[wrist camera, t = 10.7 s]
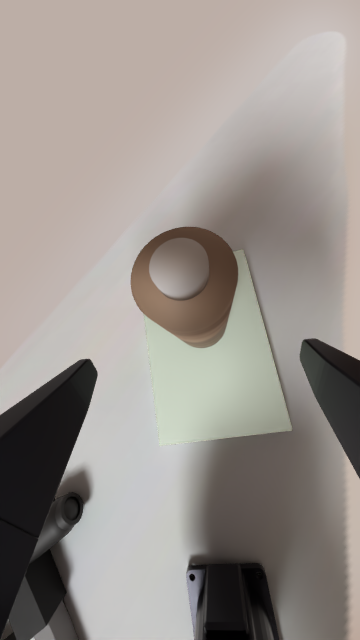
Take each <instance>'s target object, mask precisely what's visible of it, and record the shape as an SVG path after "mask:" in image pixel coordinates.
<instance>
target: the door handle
mask: <svg viewBox="0 0 360 640" xmlns="http://www.w3.org/2000/svg"><path fill="white" fill-rule="evenodd" d="M82 513H83V503H82V500H81V498H80V496H79V495H78V494H76V493H74V492H71V493H68V494H67V495H65V496H62V497H60V498H58V499H56V500H55V498H54V500H53V503H52V505H51V508H50V511H49V513H48V516H47V518H46V521H45V524H44V526H43V529H42V531H41V534H40V537H39V538H38V542H37V545H36V547H35V550H34V553H33V555H32V558H31V561H30V563H29V566H28V568H27V571H26V574H25V576H24V579H23V581H22V584H21V587H20V589H19V592H18V594H17V597H16V600H15V602H14V605H13V608H12V610H11V613H10V615H9V618H8V619H9V621H10V624H11V626H12V629H13V631H14V632H13V633H12V634H10V635H9V636H8V637H7V638H5V639H4V640H30V639H31V638H33V637H34V638H35V640H79V639H78V637H77V634H76V632H75V629H74V627H73V624H72V621H71V619H70V616H69V614H68V612H67V609H66V607H65V605H64V603H63V601H62V599H63V597H64V596H65V594H66V589H65V587H64V584H63V582H62V579H61V577H60V574H59V572H58V569H57V567H56V564H55V562H54V559H53V557H52V554H51V551H50V549H49V548H51V547H52V546H53V545H54V544H56V543H57V542H58V541H59V540H61V539H62V538H63V537H64V536H66V535H67V534H68V533H69V532H70V531H71V529H72V528H73V526H74V525H75V524H76V523H78V522H79V520H80V519H81V516H82Z"/></svg>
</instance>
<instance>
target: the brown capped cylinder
mask: <svg viewBox="0 0 360 640" xmlns="http://www.w3.org/2000/svg"><path fill="white" fill-rule="evenodd" d="M237 283H238V265H237V261H236V258H235V255H234V253H233V251H232V249H231V248H230V247H229V245H228V244H227V243H226V242H225V241H224V240H223V239H222V238H221V237H219V236H218V235H216V234H215V233H213V232H211V231H208V230H206V229H202V228H197V227H180V228H175V229H172V230H169V231H166V232H164V233H162V234H160V235H158V236H157V237H155V238H154V239H152V240H151V241H150V242H149V243H148V244H147V245H146V246H145V247H144V248H143V249H142V251H141V252H140V253H139V255H138V257H137V259H136V261H135V263H134V266H133V269H132V273H131V290H132V294H133V297H134V300H135V302H136V304H137V306H138V307H139V309H140V310H141V311H142V312H143V313H144V314H145V315H146V316H147V317H148V318H149V319H151V320H152V321H154V322H155V323H157V324H158V325H160V326H161V327H162V328H164V329H165V330H167V331H168V332H170V333H171V334H173V335H174V336H176V337H177V338H179V339H180V340H182V341H183V342H185V343H186V344H188V345H190V346H192V347H195V348H207V347H210V346H212V345H214V344H216V343H217V342H218V341H219V340H220V339H221V338H222V337H223V335H224V333H225V330H226V326H227V322H228V318H229V314H230V310H231V306H232V303H233V299H234V295H235V291H236V287H237Z"/></svg>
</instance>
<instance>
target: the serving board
mask: <svg viewBox="0 0 360 640" xmlns="http://www.w3.org/2000/svg"><path fill="white" fill-rule="evenodd" d="M233 253H234V255H235V258H236V261H237V265H238V283H237V287H236V291H235V295H234V299H233V303H232V306H231V310H230V314H229V318H228V322H227V326H226V330H225V333H224V335H223V337H222V338H221V339H220V340H219V341H218V342H217V343H216V344H214V345H212V346H210V347H207V348H195V347H192V346H190V345H188V344H186V343H185V342H183V341H182V340H180V339H179V338H177V337H176V336H174V335H173V334H171V333H170V332H168V331H167V330H165V329H164V328H162V327H161V326H160V325H158V324H157V323H155V322H154V321H152V320H151V319H149V318H148V317H147V316H146V315H145V314H144V313H143V314H144V322H145V331H146V339H147V347H148V355H149V364H150V372H151V380H152V388H153V397H154V405H155V413H156V421H157V430H158V438H159V446H164V445H173V444H182V443H190V442H199V441H207V440H216V439H224V438H233V437H241V436H250V435H259V434H267V433H276V432H284V431H293V429H292V426H291V422H290V418H289V415H288V411H287V407H286V404H285V400H284V396H283V393H282V389H281V385H280V382H279V378H278V374H277V371H276V367H275V363H274V360H273V356H272V352H271V349H270V345H269V341H268V338H267V334H266V330H265V327H264V323H263V319H262V316H261V312H260V308H259V305H258V301H257V297H256V294H255V290H254V286H253V283H252V279H251V275H250V272H249V268H248V264H247V261H246V257H245V253H244V250H243V249H241V250H237V251H233Z"/></svg>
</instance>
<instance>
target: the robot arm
mask: <svg viewBox="0 0 360 640" xmlns="http://www.w3.org/2000/svg"><path fill="white" fill-rule="evenodd" d="M300 361H301V363H302V366H303V368H304V371H305V373H306V376H307V378H308V381H309V383H310V386H311V388H312V390H313V393H314V395H315V397H316V399H317V401H318V403H319V405H320V407H321V409H322V410H323V412H324V414H325V416H326V418H327V420H328V421H329V423H330V425H331V427H332V429H333V431H334V432H335V434H336V436H337V438H338V440H339V442H340V443H341V445H342V447H343V449H344V451H345V453H346V454H347V456H348V458H349V460H350V462H351V464H352V465H353V467H354V469H355V471H356V473H357V475H358V476H359V478H360V361H359V360H357V359H356V358H354V357H352V356H350V355H348V354H346V353H344V352H342V351H340V350H338V349H336V348H334V347H332V346H330V345H328V344H326V343H324V342H322V341H320V340H318V339H305V340H303V342H302V346H301V351H300ZM97 375H98V374H97V370H96V368H95V367H94V365H93V363H92V361H91V360H90V359H81V360H79V361H77V362H76V363H75V364H73V365H72V366H70V367H69V368H67V369H66V370H65V371H63V372H62V373H60V374H59V375H57V376H56V377H54V378H53V379H52V380H50V381H49V382H47V383H46V384H44V385H43V386H42V387H40V388H39V389H37V390H36V391H34V392H33V393H31V394H30V395H29V396H27V397H26V398H24V399H23V400H21V401H20V402H18V403H17V404H16V405H14V406H13V407H11V408H10V409H8V410H7V411H6V412H4V413H3V414H1V415H0V639H1V636H2V634H3V631H4V628H5V626H6V623H7V621H8V618H9V615H10V613H11V610H12V608H13V605H14V602H15V600H16V597H17V594H18V592H19V589H20V587H21V584H22V581H23V579H24V576H25V574H26V571H27V568H28V566H29V563H30V561H31V558H32V555H33V553H34V550H35V547H36V545H37V542H38V538H39V537H40V534H41V531H42V529H43V526H44V524H45V521H46V518H47V516H48V513H49V511H50V508H51V505H52V503H53V500H54V497H55V495H56V492H57V490H58V487H59V484H60V482H61V479H62V477H63V474H64V471H65V469H66V466H67V464H68V461H69V458H70V456H71V453H72V451H73V448H74V445H75V443H76V440H77V437H78V435H79V432H80V430H81V427H82V424H83V422H84V419H85V417H86V414H87V411H88V408H89V405H90V402H91V398H92V395H93V391H94V387H95V384H96V380H97ZM257 572H261V574H260V575H258V574H257ZM190 574H194V575H195V576H191V575H190ZM186 578H187V586H188V593H189V601H190V609H191V616H192V624H193V631H194V640H279V636H278V631H277V626H276V622H275V617H274V612H273V607H272V602H271V598H270V593H269V588H268V583H267V578H266V574H265V570H264V567H263V566H262V565H261V564H259V563H246V564H212V565H191V566H189V567H188V569H187V575H186Z"/></svg>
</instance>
